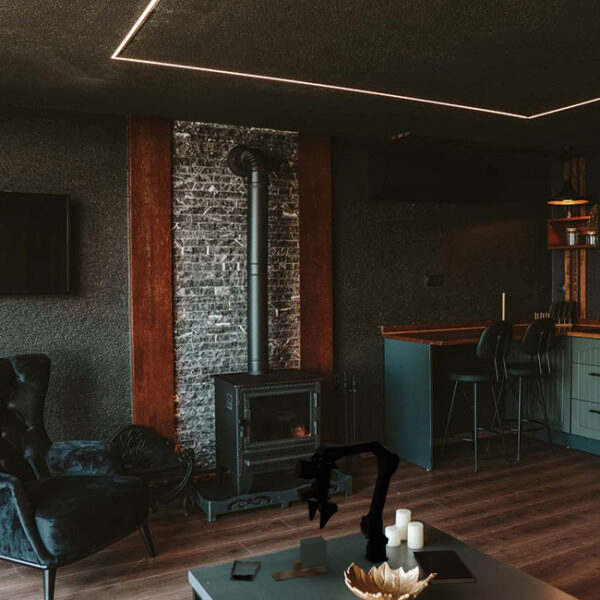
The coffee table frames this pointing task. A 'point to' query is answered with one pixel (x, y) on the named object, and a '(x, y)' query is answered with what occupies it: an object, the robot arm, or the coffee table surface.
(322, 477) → the robot arm
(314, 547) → the block
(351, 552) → the coffee table surface
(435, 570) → the hardcover book
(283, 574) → the chute
